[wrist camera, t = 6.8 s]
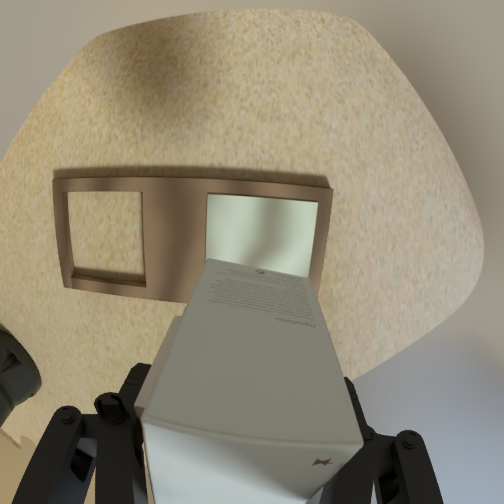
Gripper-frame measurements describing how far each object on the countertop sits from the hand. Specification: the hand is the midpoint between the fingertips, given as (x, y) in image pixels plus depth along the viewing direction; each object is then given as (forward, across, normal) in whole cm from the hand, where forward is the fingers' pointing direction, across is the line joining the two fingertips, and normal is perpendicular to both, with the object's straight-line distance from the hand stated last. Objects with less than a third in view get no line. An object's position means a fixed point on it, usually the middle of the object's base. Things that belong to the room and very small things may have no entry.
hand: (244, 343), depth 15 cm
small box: (+2, 0, 0) cm, 2 cm away
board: (+17, -8, 0) cm, 19 cm away
